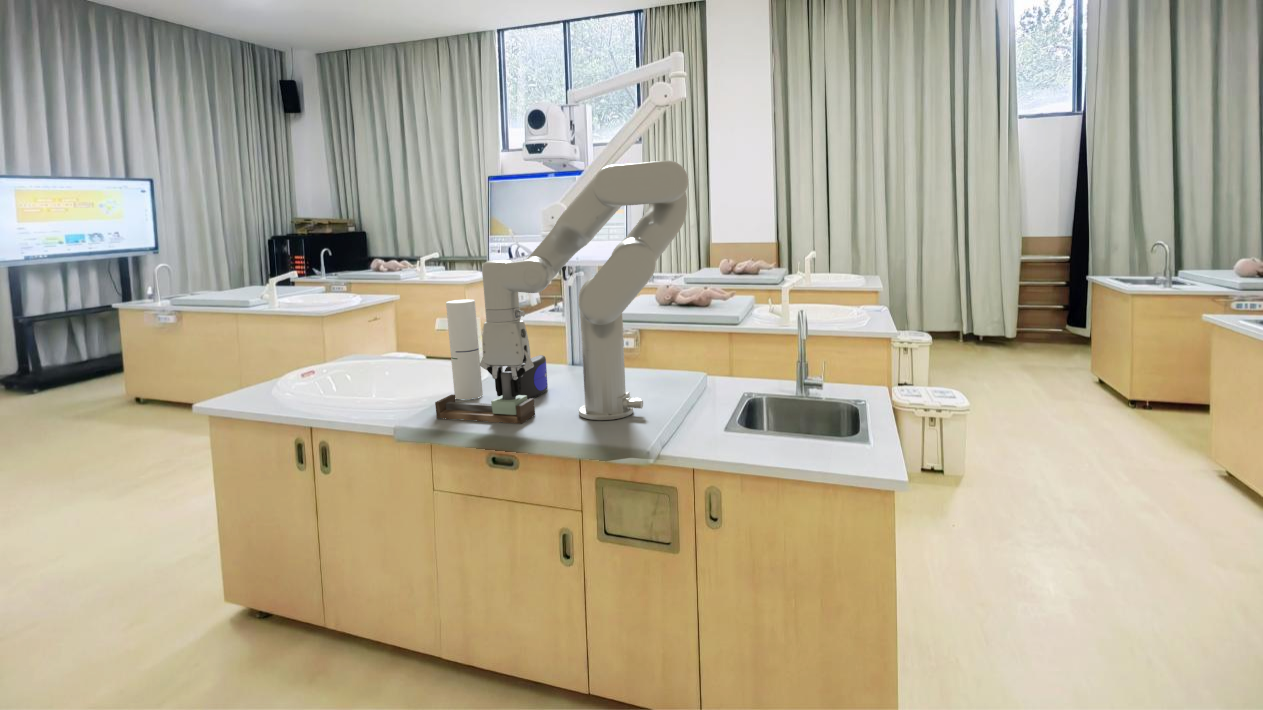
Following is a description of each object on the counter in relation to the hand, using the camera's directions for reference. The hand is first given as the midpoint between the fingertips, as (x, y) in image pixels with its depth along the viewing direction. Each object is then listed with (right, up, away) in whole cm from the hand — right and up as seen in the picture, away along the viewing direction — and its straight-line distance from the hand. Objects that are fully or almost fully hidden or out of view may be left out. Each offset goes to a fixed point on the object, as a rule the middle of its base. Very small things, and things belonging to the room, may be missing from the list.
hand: (508, 394), depth 167 cm
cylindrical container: (-14, -2, +23) cm, 27 cm away
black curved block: (+1, -2, +22) cm, 22 cm away
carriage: (0, -4, +1) cm, 4 cm away
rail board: (-6, -5, +3) cm, 9 cm away
